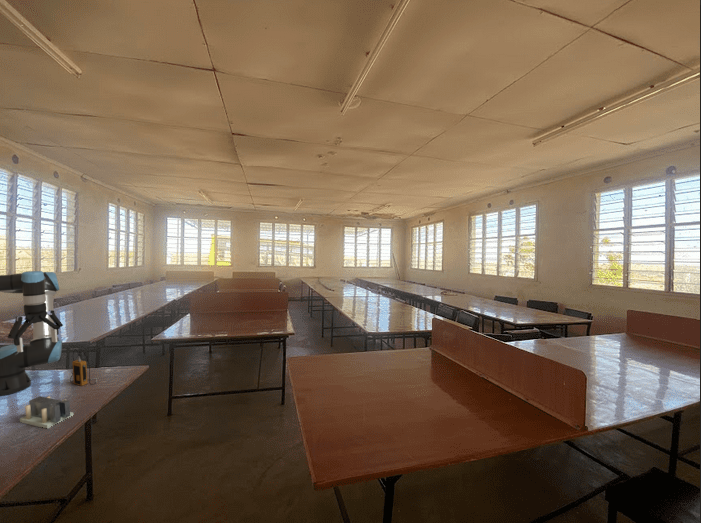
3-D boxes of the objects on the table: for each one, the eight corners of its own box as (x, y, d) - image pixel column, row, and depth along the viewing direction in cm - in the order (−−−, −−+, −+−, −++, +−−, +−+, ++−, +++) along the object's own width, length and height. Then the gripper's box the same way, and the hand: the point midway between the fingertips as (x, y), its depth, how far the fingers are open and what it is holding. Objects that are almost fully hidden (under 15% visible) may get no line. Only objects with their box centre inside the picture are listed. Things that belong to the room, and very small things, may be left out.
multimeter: (106, 379, 177) (104, 345, 175) (86, 387, 167) (84, 351, 166) (89, 375, 182) (87, 342, 180) (69, 383, 172) (66, 348, 171)
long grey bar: (28, 416, 138) (26, 401, 137) (43, 409, 143) (42, 395, 143) (55, 422, 134) (54, 407, 133) (70, 415, 139) (69, 400, 139)
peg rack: (19, 422, 136) (18, 406, 136) (46, 409, 146) (45, 394, 145) (47, 428, 132) (46, 412, 132) (73, 415, 142) (72, 400, 141)
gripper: (59, 297, 160) (62, 337, 162) (-7, 308, 136) (-3, 355, 138) (70, 298, 158) (72, 339, 160) (5, 310, 134) (9, 357, 136)
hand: (38, 346), depth 149 cm, fingers open, 13 cm apart
